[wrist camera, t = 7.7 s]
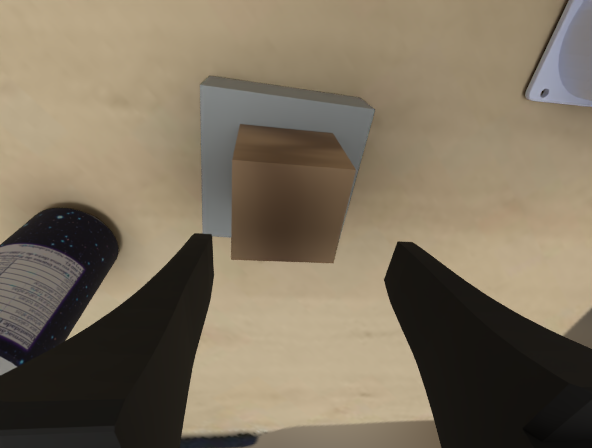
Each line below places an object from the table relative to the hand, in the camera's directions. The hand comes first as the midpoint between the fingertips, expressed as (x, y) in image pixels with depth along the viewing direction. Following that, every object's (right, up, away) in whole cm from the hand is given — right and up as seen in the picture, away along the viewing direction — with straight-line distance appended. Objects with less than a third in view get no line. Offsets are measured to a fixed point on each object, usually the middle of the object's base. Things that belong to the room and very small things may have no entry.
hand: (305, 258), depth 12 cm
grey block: (-2, +6, +9) cm, 11 cm away
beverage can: (-16, +1, +11) cm, 19 cm away
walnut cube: (-1, +4, +6) cm, 7 cm away
